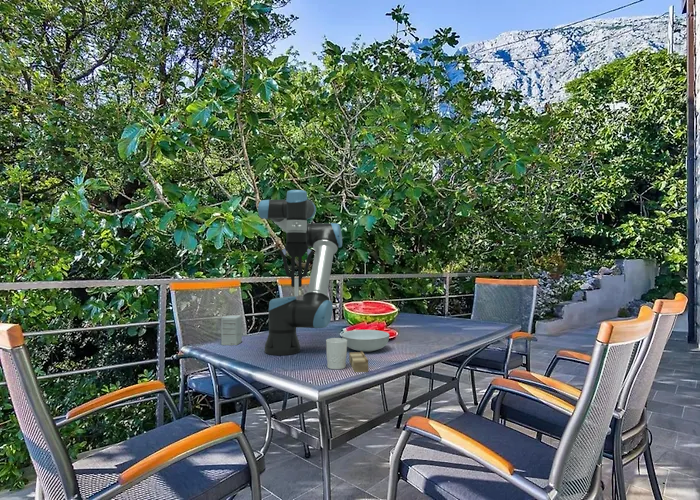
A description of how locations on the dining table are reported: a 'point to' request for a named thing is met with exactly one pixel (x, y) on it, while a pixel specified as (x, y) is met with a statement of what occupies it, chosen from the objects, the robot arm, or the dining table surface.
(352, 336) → the serving bowl
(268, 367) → the dining table surface
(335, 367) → the white cup
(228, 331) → the supplement box
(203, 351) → the dining table surface
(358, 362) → the brass metal channel
